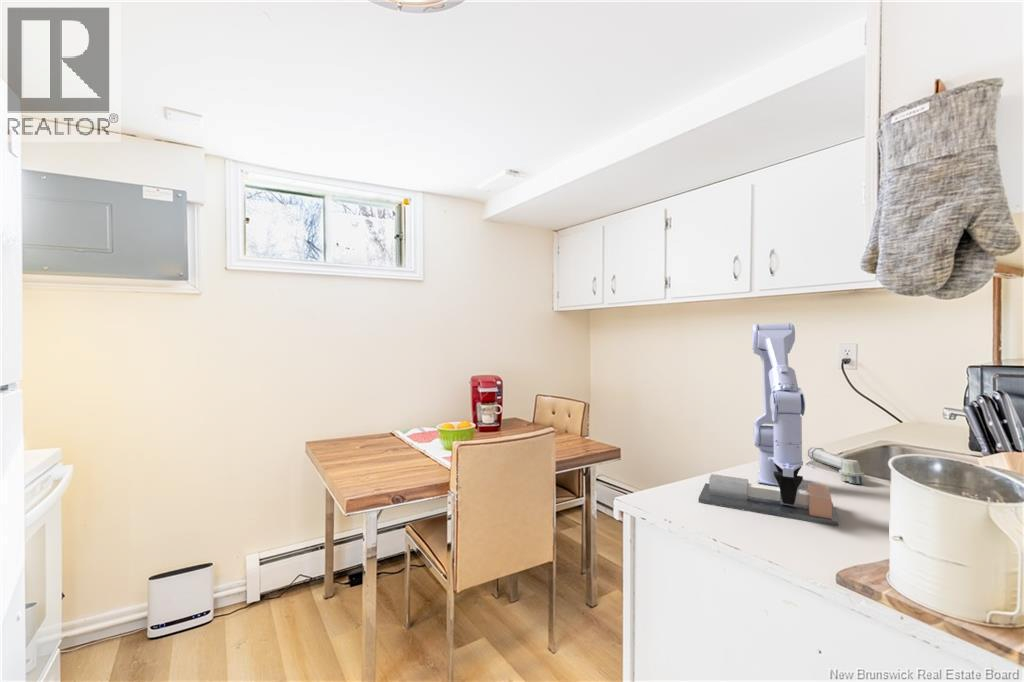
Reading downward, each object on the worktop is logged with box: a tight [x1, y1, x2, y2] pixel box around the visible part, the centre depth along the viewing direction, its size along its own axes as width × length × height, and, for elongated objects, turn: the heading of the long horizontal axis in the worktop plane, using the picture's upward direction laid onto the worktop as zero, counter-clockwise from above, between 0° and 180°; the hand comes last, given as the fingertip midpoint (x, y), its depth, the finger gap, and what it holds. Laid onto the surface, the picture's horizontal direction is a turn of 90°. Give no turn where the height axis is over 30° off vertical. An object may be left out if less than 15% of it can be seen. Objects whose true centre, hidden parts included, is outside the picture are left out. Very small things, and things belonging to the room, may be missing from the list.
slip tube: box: [747, 482, 809, 506], centre depth 105 cm, size 4×16×4 cm, turn 58°
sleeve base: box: [698, 473, 839, 527], centre depth 107 cm, size 12×28×5 cm, turn 58°
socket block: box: [806, 482, 833, 519], centre depth 101 cm, size 10×4×4 cm, turn 148°
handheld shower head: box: [807, 447, 865, 485], centre depth 129 cm, size 5×7×25 cm
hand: (788, 498), depth 104 cm, fingers open, 7 cm apart
